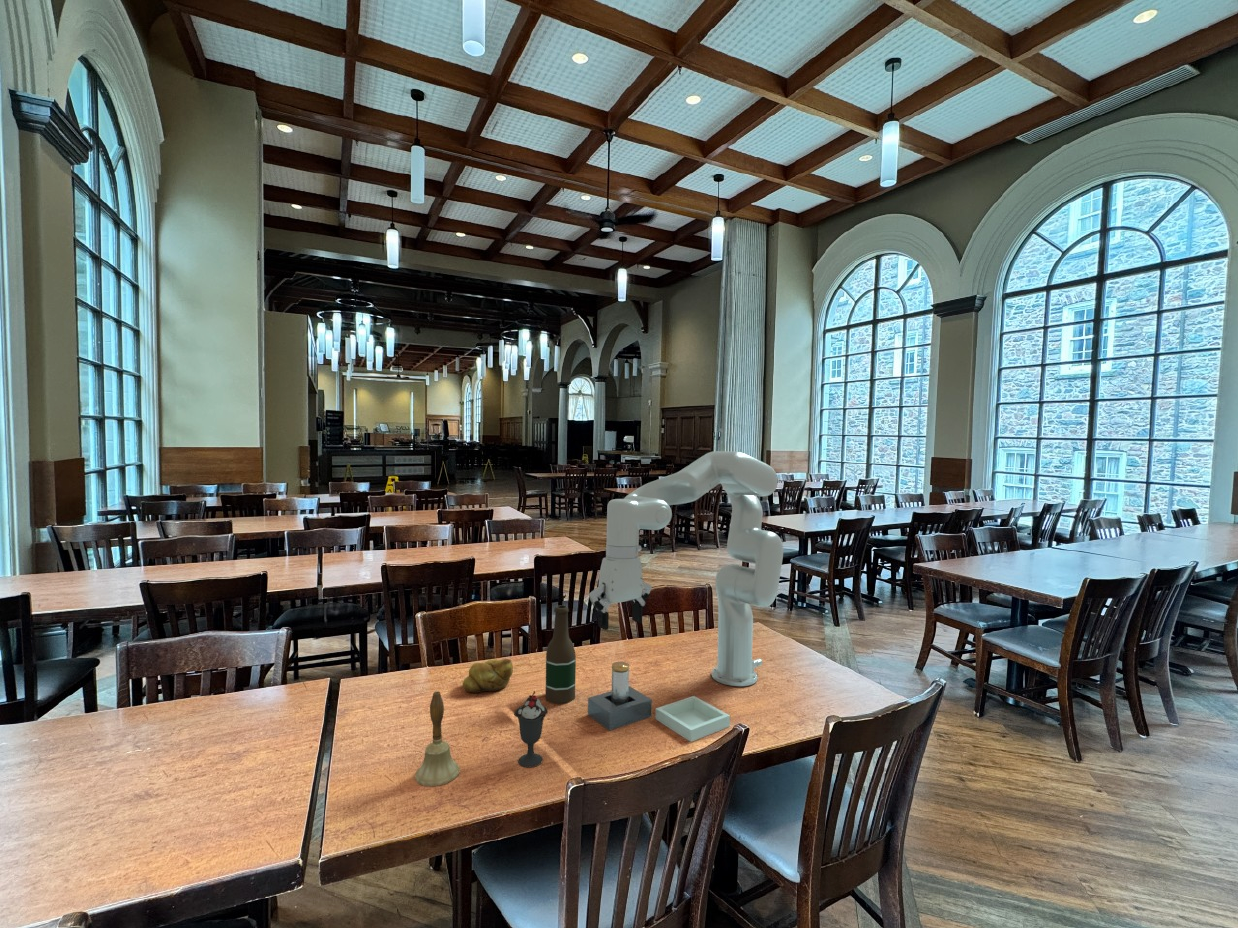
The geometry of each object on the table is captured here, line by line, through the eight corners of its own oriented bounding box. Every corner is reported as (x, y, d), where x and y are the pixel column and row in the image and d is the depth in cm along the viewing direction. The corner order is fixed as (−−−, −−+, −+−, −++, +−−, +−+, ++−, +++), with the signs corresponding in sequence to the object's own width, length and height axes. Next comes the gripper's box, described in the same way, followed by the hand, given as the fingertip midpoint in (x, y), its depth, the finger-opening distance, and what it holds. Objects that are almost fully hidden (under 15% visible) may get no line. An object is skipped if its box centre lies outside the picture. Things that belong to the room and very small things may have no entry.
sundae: (532, 773, 108) (533, 697, 107) (507, 763, 111) (508, 689, 111) (553, 758, 113) (554, 685, 113) (529, 748, 117) (529, 678, 116)
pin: (621, 709, 133) (622, 660, 132) (631, 716, 129) (632, 665, 129) (607, 714, 130) (608, 663, 130) (617, 721, 127) (618, 669, 127)
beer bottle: (570, 709, 134) (572, 612, 134) (540, 706, 136) (541, 609, 135) (579, 696, 142) (580, 603, 141) (550, 692, 143) (551, 601, 143)
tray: (693, 709, 135) (693, 695, 135) (729, 730, 126) (730, 715, 126) (655, 723, 128) (655, 708, 128) (690, 746, 119) (691, 730, 119)
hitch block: (628, 705, 137) (629, 685, 137) (651, 720, 130) (651, 699, 130) (587, 718, 130) (588, 697, 130) (609, 735, 123) (609, 712, 123)
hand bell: (422, 791, 101) (422, 706, 101) (409, 770, 108) (410, 689, 108) (465, 776, 106) (466, 694, 106) (451, 757, 113) (451, 680, 113)
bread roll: (464, 699, 139) (465, 667, 139) (458, 684, 148) (459, 654, 148) (515, 690, 145) (515, 660, 145) (506, 676, 154) (506, 648, 153)
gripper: (641, 546, 137) (640, 615, 137) (582, 552, 127) (580, 626, 127) (661, 551, 131) (659, 623, 131) (600, 558, 121) (598, 635, 121)
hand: (620, 624), depth 129 cm, fingers open, 9 cm apart
